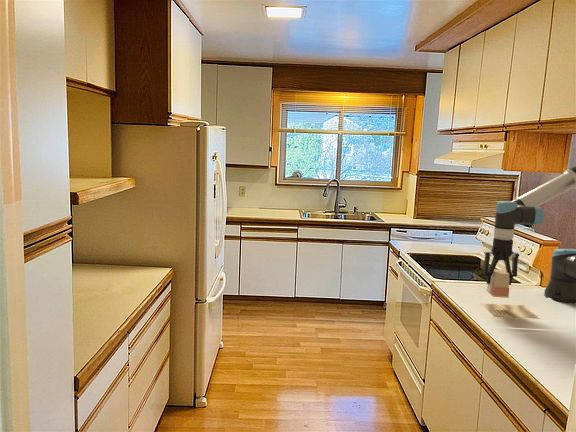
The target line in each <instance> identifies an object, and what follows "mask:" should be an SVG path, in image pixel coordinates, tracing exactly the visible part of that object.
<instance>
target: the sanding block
mask: <svg viewBox="0 0 576 432" xmlns="http://www.w3.org/2000/svg"><path fill="white" fill-rule="evenodd" d="M492 277H493V284H492V292H489V291H488V286H487V289H486V292H487V293H488V294H489V295H490V296H492V297H493V298H503V299H504V298H506V299H507V298H508V299H509V298H510V296H509V295H510V288H508V284H509V273H507V271H506V270H504V269H499V268H495V269H494V271H493V274H492Z"/></svg>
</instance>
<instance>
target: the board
mask: <svg viewBox="0 0 576 432" xmlns="http://www.w3.org/2000/svg"><path fill="white" fill-rule="evenodd" d="M481 305H482V306H483V307H484V308H485V309H486V310H487V311H488V312H489V313H490V314H491V315H492V316H493V317H495V318H512V319H513V318H514V319H515V318H516V319H519V318H520V319H537V320H539V319H541V318H540V317H539V316H538V315H536V314H535V313H534V312H532V311H531V310H530V309H529V308H527V306H525V305H522V304H520V305H519V304H500V303H499V304H497V303H481Z"/></svg>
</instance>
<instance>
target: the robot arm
mask: <svg viewBox="0 0 576 432" xmlns="http://www.w3.org/2000/svg"><path fill="white" fill-rule="evenodd" d="M572 189H574V190H576V164H574V165H573V166H570V167H568V168H566V169H564V170H563V173H562V174H560V175H558V176H556V177H554V178H552V179H551V180H549V181H547V182H545V183H543V184H541V185H540V186H537V187H536V188H534V189H531V190H529V191H528V192H526V193H524V194H522V195H521V196H518V197H516V198H515V199H513V200H499V201H498V202H497V203H496V207H495V208H496V209H495V219H494V231H493V239H492V248H491V250H489V251H487V250H485V251H484V253H483V254H484V261H483V266H482V274H483V275H484V276H486V284H487V287H488V291H489V292H492V284H493V277H492V274H493V271H494V269H496V266H497V264H498V263H499V261H503V262H504V266H505V271H506V272H507V273H509V284H508V288H509V287H510V286H511V285H512V282H513V281H512V279H513V278H514V277H515V278H517V276H518V264H519V263H518V261H519V260H518V259H519V257H520V254H519V253H518V252H514V250H513V245H514V244H513V243H514V236H515V227H516V226H515V225H531V226H536V225H540V224H542V223H543V222H544V221H545V211H544V209H543V208H542V207H540V206H541V205H543V204H546V203H547V202H549V201H551V200H553V199H555V198H557V197H559V196H560V195H563V194H564V193H566V192H568V191H570V190H572ZM491 256H493V257H492V261H491ZM511 256H512V259H511V260H512V262H511V261H510V257H511ZM490 261H491V263H490ZM510 262H511V263H512V264H511V263H510ZM550 267H551V268H550V276H549V277H550V278H549V281H548V283H547V285H546V287H545V288H544V292H543V295H544V297H546V298H548V299H551V300H553V301H557V302H563V303H571V304H572V303H573V304H574V303H576V248H555V249H554V250H553V251H552V255H551V265H550ZM509 289H510V288H509Z"/></svg>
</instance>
